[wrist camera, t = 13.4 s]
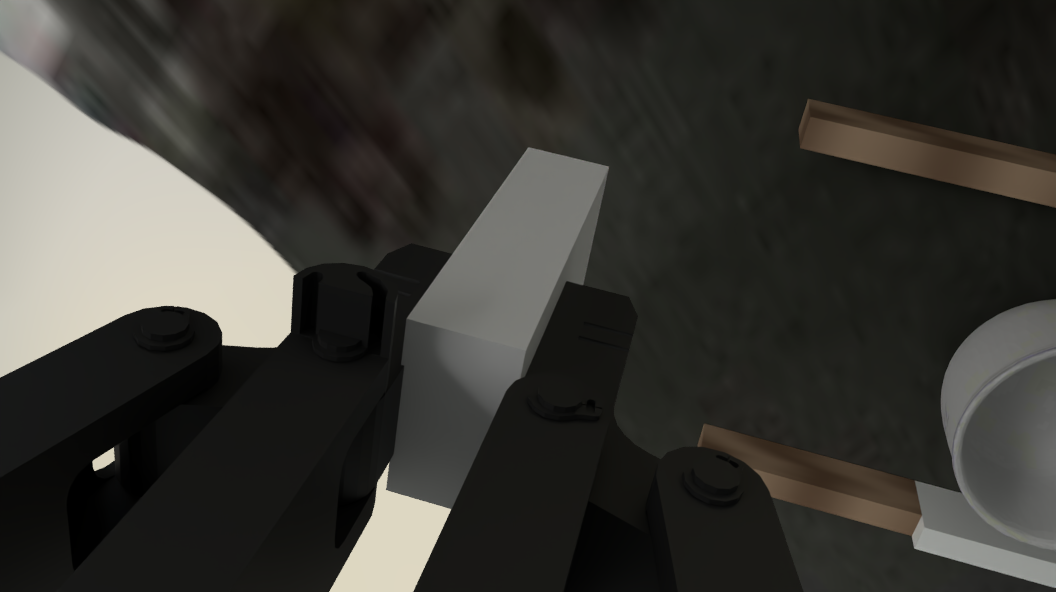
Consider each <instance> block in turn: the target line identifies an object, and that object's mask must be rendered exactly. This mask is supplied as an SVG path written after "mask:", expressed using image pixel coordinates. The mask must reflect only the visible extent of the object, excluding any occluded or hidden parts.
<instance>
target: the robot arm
mask: <svg viewBox="0 0 1056 592" xmlns="http://www.w3.org/2000/svg"><path fill="white" fill-rule="evenodd" d="M608 170H609V167H608V166H604V165H600V164H596V163H591V162H587V161H583V160H579V159H575V158H571V157H567V156H562V155H558V154H554V153H550V152H546V151H542V150H537V149H533V148H529V147H528V149H527V150H526V152H525V153H524V154H523V156H522V157H521V159H520V160H519V161H518V163H517V164H516V166H515V167H514V168H513V170H512V171H511V173H510V174H509V176H508V177H507V178H506V180H505V181H504V183H503V184H502V185H501V187H500V188H499V190H498V191H497V192H496V194H495V195H494V197H493V198H492V199H491V201H490V202H489V204H488V205H487V206H486V208H485V209H484V211H483V212H482V213H481V215H480V216H479V218H478V219H477V220H476V222H475V223H474V225H473V226H472V227H471V229H470V230H469V232H468V233H467V234H466V236H465V237H464V239H463V240H462V241H461V243H460V244H459V246H458V247H457V249H456V250H455V251H454V253H453V254H450V253H446V252H443V251H439V250H435V249H431V248H427V247H423V246H419V245H415V244H412V243H411V244H409V245H407V246H405V247H402V248H400V249H398V250H395V251H393V252H391V253H388V254H387V255H386V256H385V257H384V259H383V260H382V261H381V262H380V263H379V264H378V266H377V267H376V268H375V269H374V270H372V269H370V268H367V267H365V266H359V265H353V264H346V263H332V264H321V265H317V266H313V267H309V268H306V269H304V270H302V271H301V272H299V273H297V274H296V275H294V278H293V280H294V281H293V298H292V299H293V300H292V319H291V320H292V321H291V333H290V334H289V335H288V336H287V337H286V338H285V339H284V341H282V343H281V344H280V345H279V346H278V347H275V348H254V347H240V346H225V345H222V332H221V329H220V327H219V325H218V323H217V322H216V321H215V320H214V319H212V318H211V317H209V316H208V315H206V314H205V313H202V312H199V311H195V310H192V309H189V308H184V307H174V306H161V307H154V308H145V309H142V310H139V311H136V312H133V313H130V314H127V315H124V316H122V317H120V318H118V319H117V320H115V321H112V322H111V323H109V324H107V325H105V326H103V327H101V328H99V329H97V330H95V331H93V332H91V333H89V334H87V335H85V336H83V337H81V338H79V339H77V340H75V341H73V342H71V343H69V344H67V345H65V346H63V347H61V348H59V349H57V350H55V351H53V352H51V353H49V354H47V355H45V356H43V357H41V358H39V359H37V360H35V361H33V362H31V363H29V364H27V365H25V366H23V367H21V368H19V369H17V370H15V371H13V372H11V373H9V374H7V375H5V376H3V377H1V378H0V592H329V591H330V589H331V587H332V586H333V584H334V582H335V580H336V578H337V577H338V575H339V573H340V571H341V570H342V568H343V566H344V564H345V562H346V561H347V559H348V557H349V555H350V553H351V552H352V550H353V548H354V546H355V545H356V543H357V541H358V539H359V537H360V535H361V534H362V532H363V530H364V528H365V527H366V525H367V523H368V521H369V519H370V517H371V516H372V512H373V508H374V504H375V497H376V488H377V482H378V480H379V479H380V477H381V475H382V473H383V472H384V470H385V468H386V467H387V465H388V463H389V461H390V463H389V472H388V480H387V488H386V490H388V491H391V492H395V493H398V494H402V495H405V496H409V497H412V498H415V499H419V500H422V501H426V502H429V503H433V504H436V505H440V506H443V507H446V508H450V509H451V511H450V514H449V516H448V518H447V520H446V522H445V524H444V527H443V529H442V531H441V533H440V535H439V538H438V540H437V542H436V544H435V546H434V548H433V550H432V553H431V555H430V557H429V560H428V561H427V563H426V566H425V568H424V570H423V572H422V574H421V576H420V579H419V581H418V583H417V585H416V587H415V590H414V592H803V589H802V586H801V583H800V580H799V577H798V575H797V572H796V569H795V566H794V563H793V560H792V557H791V554H790V551H789V548H788V545H787V542H786V539H785V536H784V533H783V530H782V527H781V524H780V521H779V518H778V515H777V512H776V509H775V506H774V503H773V501H772V498H771V495H770V492H769V490H768V488H767V486H766V485H765V483H764V481H763V480H762V478H761V476H760V475H759V474H758V473H757V472H755V471H754V470H753V469H752V468H751V467H750V466H748V465H747V464H746V463H745V462H743V461H741V460H739V459H737V458H735V457H733V456H731V455H729V454H727V453H725V452H722V451H718V450H714V449H710V448H706V447H682V448H679V449H676V450H673V451H670V452H667V453H666V455H665V456H664V457H663V458H662V459H659V458H657V457H655V456H653V455H651V454H649V453H648V452H646V451H645V450H643V449H641V448H640V447H638V446H637V445H635V444H634V443H633V442H632V441H631V440H630V439H628V438H627V437H626V436H625V435H624V434H623V432H622V431H621V429H620V428H619V427H618V425H617V423H616V420H615V417H614V406H615V402H616V399H617V395H618V391H619V387H620V383H621V379H622V376H623V372H624V368H625V364H626V360H627V356H628V352H629V348H630V345H631V341H632V337H633V333H634V329H635V325H636V321H637V318H638V316H637V313H636V311H635V309H634V307H633V305H632V303H631V300H630V298H629V297H627V296H623V295H619V294H615V293H611V292H608V291H604V290H600V289H596V288H592V287H588V286H584V285H583V283H584V278H585V274H586V269H587V265H588V260H589V256H590V251H591V247H592V242H593V238H594V233H595V229H596V224H597V220H598V215H599V211H600V206H601V201H602V197H603V192H604V188H605V183H606V179H607V174H608ZM113 447H114V454H115V461H113V462H112V463H110V464H109V465H107V466H106V467H104V468H102V469H99V470H97V471H94V469H93V464H92V461H93V460H94V459H96V458H97V457H99V456H100V455H102V454H104V453H105V452H107V451H108V450H110V449H112V448H113Z"/></svg>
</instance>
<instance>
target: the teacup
mask: <svg viewBox="0 0 1056 592" xmlns="http://www.w3.org/2000/svg"><path fill="white" fill-rule="evenodd" d="M941 413H942V420H943V426H944V430H945V434H946V438H947V442H948V446H949V449H950V452H951V455H952V463H953V469H954V473H955V477H956V480H957V483H958V485H959V487H960V489H961V491H962V493H963V495H964V497H965V499H966V500H967V502H968V503H969V505H970V506H971V507H972V508H973V509H974V510H975V511H976V513H977V514H978V515H979V516H980V517H981V518H982V519H983V520H984V521H985V522H986V523H988V524H989V525H991V526H993V527H994V528H995V529H997V530H998V531H1000V532H1001V533H1003V534H1004V535H1006V536H1008V537H1012V538H1014V539H1015V540H1017V541H1019V542H1025V543H1027V544H1029V545H1034V546H1036V547H1039V548H1044V549H1049V550H1055V551H1056V299H1052V300H1044V301H1037V302H1032V303H1027V304H1024V305H1021V306H1018V307H1015V308H1012V309H1009V310H1007V311H1005V312H1003V313H1000V314H998V315H996V316H995V317H993V318H991V319H990V320H988V321H986V322H985V323H984V324H982V325H981V326H980V327H978V328H977V329H976V330H975V331H974V332H972V333H971V334H970V335H969V336H968V337H967V338H966V339H965V341H964V342H963V343H962V344H961V345H960V347H959V348H958V349H957V351H956V352H955V354H954V356H953V357H952V359H951V361H950V363H949V365H948V368H947V370H946V373H945V376H944V380H943V385H942V391H941Z"/></svg>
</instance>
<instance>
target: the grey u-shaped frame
mask: <svg viewBox="0 0 1056 592" xmlns="http://www.w3.org/2000/svg"><path fill="white" fill-rule="evenodd" d="M915 484H916V488H917V493H918V498H919V503H920V508H921V513H922V516H921V518H920V520H919V523H918V525H917V527H916V529H915V531H914V533H913V535H912V539H913V544H914V549H918V550H921V551H925V552H929V553H932V554H936V555H939V556H943V557H946V558H950V559H954V560H957V561H961V562H964V563H968V564H971V565H975V566H979V567H982V568H986V569H989V570H993V571H997V572H1000V573H1004V574H1007V575H1011V576H1014V577H1018V578H1022V579H1025V580H1029V581H1032V582H1036V583H1040V584H1043V585H1047V586H1050V587H1054V588H1056V551H1055V550H1049V549H1044V548H1039V547H1036V546H1034V545H1029V544H1027V543H1025V542H1019V541H1017V540H1015V539H1014V538H1012V537H1008V536H1006V535H1004V534H1003V533H1001V532H1000V531H998V530H997V529H995V528H994V527H993V526H991V525H989V524H988V523H986V522H985V521H984V520H983V519H982V518H981V517H980V516H979V515H978V514H977V513H976V511H975V510H974V509H973V508H972V507H971V506H970V505H969V503H968V502H967V500H966V499H965V497H964V495H963V493H959V492H955V491H952V490H948V489H944V488H941V487H937V486H933V485H930V484H926V483H922V482H918V481H915Z"/></svg>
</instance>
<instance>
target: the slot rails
mask: <svg viewBox="0 0 1056 592" xmlns="http://www.w3.org/2000/svg"><path fill="white" fill-rule="evenodd" d="M799 138H800V148H802V149H806V150H810V151H815V152H819V153H823V154H828V155H832V156H836V157H841V158H845V159H849V160H853V161H858V162H862V163H866V164H871V165H875V166H879V167H883V168H888V169H892V170H896V171H901V172H905V173H909V174H914V175H918V176H922V177H926V178H931V179H935V180H939V181H944V182H948V183H952V184H957V185H961V186H965V187H969V188H974V189H978V190H982V191H987V192H991V193H995V194H1000V195H1004V196H1008V197H1012V198H1017V199H1021V200H1025V201H1030V202H1034V203H1038V204H1042V205H1047V206H1051V207H1055V208H1056V155H1055V154H1050V153H1046V152H1041V151H1037V150H1033V149H1028V148H1024V147H1019V146H1015V145H1011V144H1006V143H1002V142H997V141H993V140H988V139H984V138H980V137H975V136H971V135H966V134H962V133H957V132H953V131H949V130H944V129H940V128H935V127H931V126H927V125H922V124H918V123H913V122H909V121H904V120H900V119H896V118H891V117H887V116H882V115H878V114H873V113H869V112H865V111H860V110H856V109H851V108H847V107H843V106H838V105H834V104H829V103H825V102H820V101H816V100H812V99H808V101H807V104H806V108H805V111H804V114H803V117H802V120H801V123H800V126H799ZM698 447H706V448H710V449H714V450H718V451H722V452H725V453H727V454H729V455H731V456H733V457H735V458H737V459H739V460H741V461H743V462H745V463H746V464H747V465H748V466H750V467H751V468H752V469H753V470H754V471H755V472H757V473H758V474H759V475H760V476H761V478H762V480H763V481H764V483H765V485H766V486H767V488H768V490H769V492H770V495H771V497H774V498H777V499H781V500H784V501H788V502H792V503H795V504H799V505H802V506H806V507H810V508H813V509H817V510H820V511H824V512H828V513H831V514H835V515H838V516H842V517H846V518H849V519H853V520H856V521H860V522H864V523H867V524H871V525H874V526H878V527H882V528H885V529H889V530H892V531H896V532H900V533H903V534H907V535H910V536H912V535H913V533H914V531H915V529H916V527H917V525H918V523H919V520H920V518H921V516H922V513H921V508H920V503H919V498H918V493H917V488H916V484H915V480H911V479H907V478H904V477H900V476H896V475H893V474H889V473H885V472H882V471H878V470H874V469H870V468H867V467H863V466H859V465H856V464H852V463H848V462H845V461H841V460H837V459H834V458H830V457H826V456H822V455H819V454H815V453H811V452H808V451H804V450H800V449H797V448H793V447H789V446H785V445H782V444H778V443H774V442H771V441H767V440H763V439H760V438H756V437H752V436H749V435H745V434H741V433H737V432H734V431H730V430H726V429H723V428H719V427H715V426H712V425H708V424H704V426H703V430H702V433H701V436H700V439H699V442H698Z"/></svg>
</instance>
